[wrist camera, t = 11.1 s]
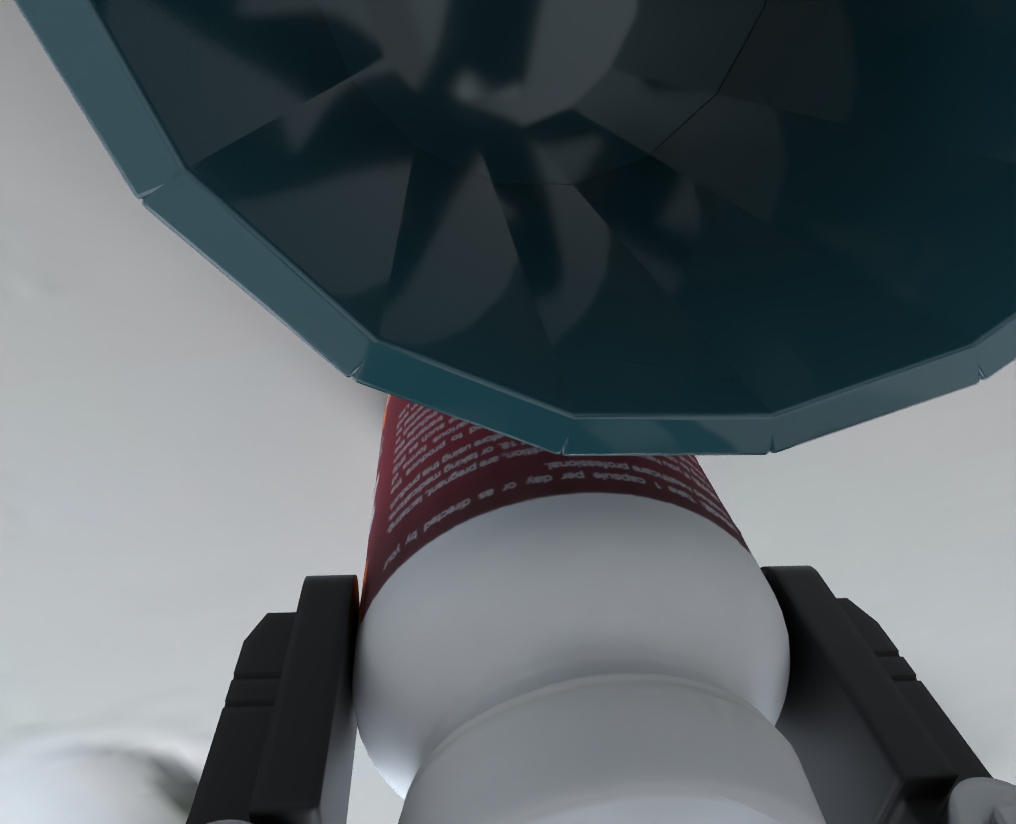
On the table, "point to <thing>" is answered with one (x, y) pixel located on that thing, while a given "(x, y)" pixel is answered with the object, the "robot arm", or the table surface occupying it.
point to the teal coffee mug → (587, 198)
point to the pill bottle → (566, 639)
